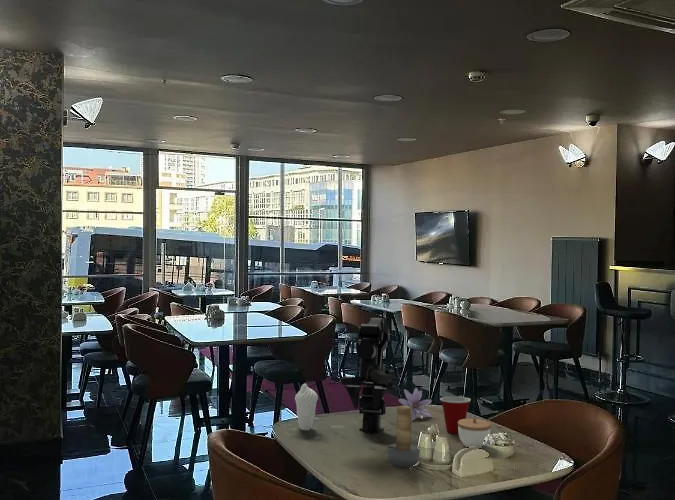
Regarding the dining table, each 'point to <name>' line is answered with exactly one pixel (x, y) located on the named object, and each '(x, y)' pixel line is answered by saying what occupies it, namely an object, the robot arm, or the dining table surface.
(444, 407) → the plastic cup
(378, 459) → the dining table surface
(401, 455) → the grey round bowl
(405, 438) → the oak pillar
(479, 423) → the lidded jar
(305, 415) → the soft serve ice cream cone
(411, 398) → the water lily
